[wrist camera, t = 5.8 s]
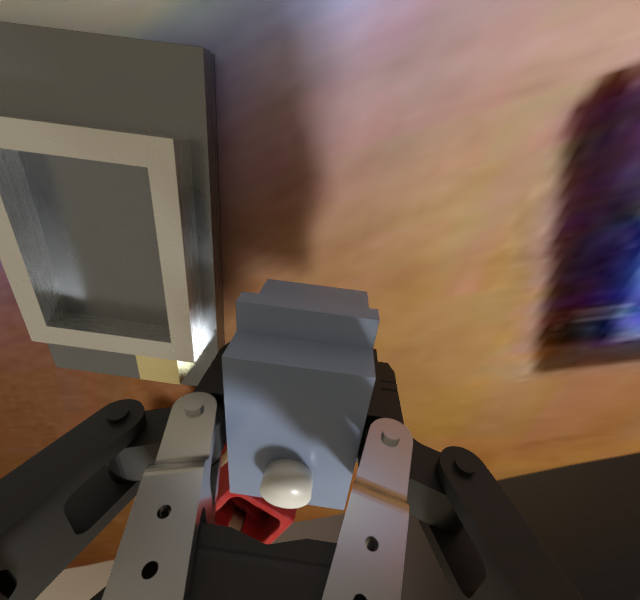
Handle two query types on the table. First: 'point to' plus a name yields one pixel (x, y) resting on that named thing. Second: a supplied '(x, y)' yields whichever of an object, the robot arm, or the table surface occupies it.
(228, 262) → the table surface
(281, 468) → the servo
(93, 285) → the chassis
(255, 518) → the toy fire truck
